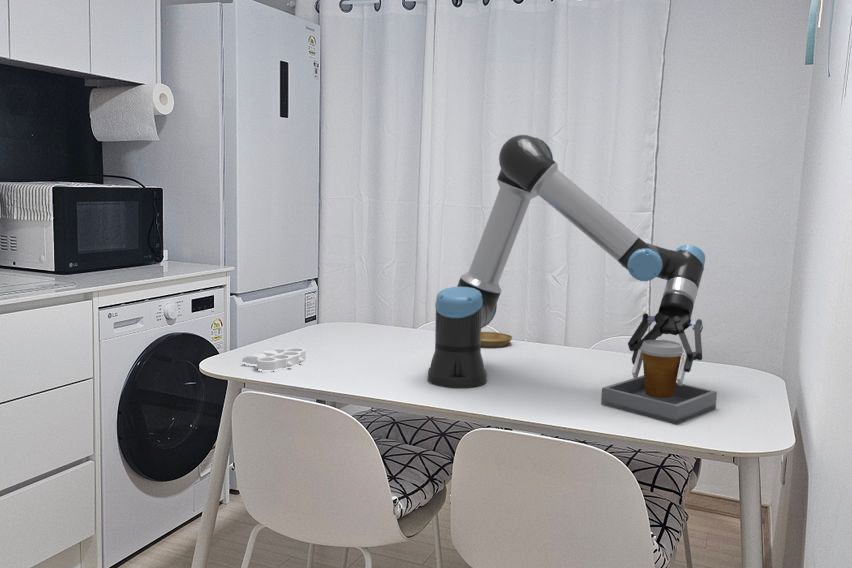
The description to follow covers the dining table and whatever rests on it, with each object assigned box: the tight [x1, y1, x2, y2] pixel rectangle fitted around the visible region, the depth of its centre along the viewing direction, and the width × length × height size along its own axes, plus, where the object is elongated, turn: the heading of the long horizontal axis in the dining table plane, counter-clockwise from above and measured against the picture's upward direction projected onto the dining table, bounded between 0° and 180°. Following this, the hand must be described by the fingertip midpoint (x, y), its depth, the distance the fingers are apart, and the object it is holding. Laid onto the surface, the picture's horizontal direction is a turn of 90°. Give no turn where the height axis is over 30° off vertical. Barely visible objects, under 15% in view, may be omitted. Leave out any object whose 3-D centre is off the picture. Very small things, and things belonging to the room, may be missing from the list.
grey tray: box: [600, 374, 718, 425], centre depth 178 cm, size 19×18×4 cm
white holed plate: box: [241, 347, 307, 370], centre depth 211 cm, size 3×18×15 cm
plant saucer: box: [481, 331, 513, 348], centre depth 243 cm, size 15×15×3 cm
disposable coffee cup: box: [640, 339, 685, 398], centre depth 177 cm, size 10×10×12 cm
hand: (656, 378), depth 175 cm, fingers closed on disposable coffee cup, 9 cm apart
